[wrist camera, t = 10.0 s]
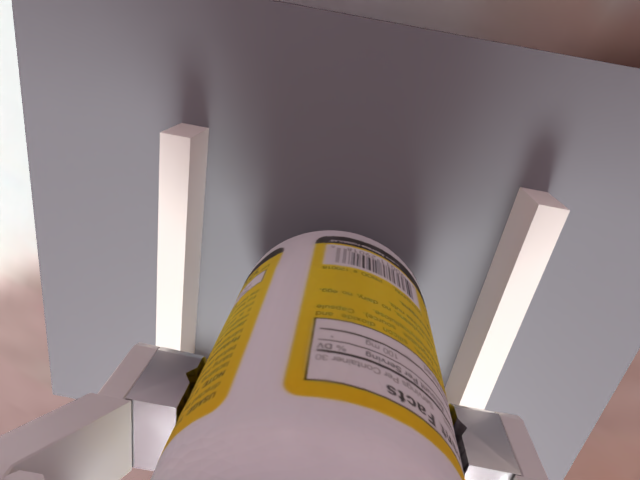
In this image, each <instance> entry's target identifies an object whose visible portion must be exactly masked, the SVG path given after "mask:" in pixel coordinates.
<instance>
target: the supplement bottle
mask: <svg viewBox="0 0 640 480" xmlns="http://www.w3.org/2000/svg"><path fill="white" fill-rule="evenodd" d="M151 480H465V475H464V471H463V467H462V463H461V458H460V454H459V449H458V445H457V441H456V437H455V432H454V428H453V423H452V418H451V414H450V409H449V405H448V401H447V397H446V392H445V388H444V383H443V379H442V374H441V370H440V366H439V362H438V357H437V353H436V349H435V344H434V340H433V335H432V331H431V327H430V322H429V318H428V314H427V309H426V306H425V302H424V299H423V296H422V293H421V291H420V288H419V285H418V283H417V281H416V279H415V277H414V276H413V274H412V272H411V271H410V269H409V268H408V267H407V266H406V264H405V263H404V262H403V261H402V260H401V259H400V258H399V257H398V256H397V255H396V254H394V253H393V252H392V251H391V250H390V249H388V248H387V247H385V246H383V245H382V244H380V243H378V242H376V241H374V240H372V239H370V238H367V237H365V236H362V235H359V234H355V233H351V232H345V231H335V230H325V231H314V232H309V233H304V234H301V235H298V236H295V237H292V238H290V239H287V240H285V241H283V242H282V243H280V244H278V245H277V246H275V247H274V248H272V249H271V250H270V251H269V252H267V253H266V254H265V255H264V256H263V257H262V258H261V259H260V260H259V262H258V263H257V264H256V265H255V267H254V268H253V269H252V271H251V273H250V274H249V276H248V278H247V279H246V281H245V283H244V285H243V287H242V289H241V291H240V293H239V295H238V297H237V300H236V302H235V304H234V306H233V308H232V310H231V312H230V314H229V316H228V318H227V320H226V322H225V324H224V326H223V328H222V330H221V332H220V334H219V337H218V339H217V341H216V343H215V345H214V347H213V349H212V351H211V353H210V355H209V357H208V359H207V361H206V363H205V365H204V367H203V369H202V371H201V373H200V375H199V377H198V379H197V381H196V384H195V386H194V388H193V390H192V392H191V394H190V396H189V398H188V400H187V402H186V404H185V406H184V408H183V410H182V412H181V414H180V416H179V418H178V421H177V423H176V425H175V427H174V429H173V431H172V433H171V435H170V437H169V439H168V441H167V443H166V445H165V447H164V449H163V451H162V454H161V456H160V458H159V460H158V463H157V465H156V468H155V470H154V473H153V475H152V477H151Z"/></svg>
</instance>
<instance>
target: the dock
mask: <svg viewBox="0 0 640 480" xmlns="http://www.w3.org/2000/svg"><path fill="white" fill-rule="evenodd" d="M12 9H13V18H14V28H15V37H16V47H17V56H18V66H19V75H20V85H21V95H22V104H23V114H24V123H25V133H26V142H27V152H28V161H29V171H30V180H31V190H32V200H33V209H34V219H35V228H36V238H37V247H38V257H39V266H40V276H41V285H42V295H43V305H44V314H45V324H46V333H47V343H48V352H49V362H50V371H51V381H52V390H53V394H54V395H59V396H64V397H69V398H74V399H78V398H80V397H82V396H84V395H86V394H88V393H95V394H97V393H98V392H99V391H100V389H101V388H102V387H103V386H104V384H105V383H106V382H107V380H108V379H109V378H110V376H111V375H112V374H113V372H114V371H115V370H116V368H117V367H118V366H119V364H120V363H121V362H122V360H123V359H124V358H125V356H126V355H127V354H128V352H129V351H130V350H131V348H132V347H133V346H134V345H136V344H137V343H139V342H140V343H145V344H149V345H154V346H158V347H165V348H170V349H174V350H179V351H184V352H188V353H193V354H197V355H202V356H205V358H206V361H207V359H208V357H209V355H210V353H211V351H212V349H213V347H214V345H215V343H216V341H217V339H218V337H219V334H220V332H221V330H222V328H223V326H224V324H225V322H226V320H227V318H228V316H229V314H230V312H231V310H232V308H233V306H234V304H235V302H236V300H237V297H238V295H239V293H240V291H241V289H242V287H243V285H244V283H245V281H246V279H247V278H248V276H249V274H250V273H251V271H252V269H253V268H254V267H255V265H256V264H257V263H258V262H259V260H260V259H261V258H262V257H263V256H264V255H265V254H266V253H267V252H269V251H270V250H271V249H272V248H274V247H275V246H277V245H278V244H280V243H282V242H283V241H285V240H287V239H290V238H292V237H295V236H298V235H301V234H304V233H309V232H314V231H325V230H335V231H345V232H351V233H355V234H359V235H362V236H365V237H367V238H370V239H372V240H374V241H376V242H378V243H380V244H382V245H383V246H385V247H387V248H388V249H390V250H391V251H392V252H393V253H394V254H396V255H397V256H398V257H399V258H400V259H401V260H402V261H403V262H404V263H405V264H406V266H407V267H408V268H409V269H410V271H411V272H412V274H413V276H414V277H415V279H416V281H417V283H418V285H419V288H420V291H421V293H422V296H423V299H424V302H425V306H426V309H427V314H428V318H429V322H430V327H431V331H432V335H433V340H434V344H435V349H436V353H437V357H438V362H439V366H440V370H441V374H442V379H443V383H444V388H445V392H446V397H447V401H448V405H449V404H455V405H461V406H466V407H472V408H477V409H482V410H488V411H493V412H501V413H507V414H512V415H518V416H519V417H520V418H521V419H522V420H523V422H524V424H525V427H526V429H527V431H528V433H529V436H530V438H531V440H532V443H533V445H534V447H535V450H536V452H537V454H538V456H539V459H540V461H541V463H542V466H543V468H544V470H545V473H546V475H547V477H548V479H549V480H563V479H564V477H565V476H566V474H567V472H568V471H569V469H570V467H571V465H572V464H573V462H574V460H575V459H576V457H577V455H578V453H579V452H580V450H581V448H582V446H583V445H584V443H585V441H586V440H587V438H588V436H589V434H590V433H591V431H592V429H593V428H594V426H595V424H596V422H597V421H598V419H599V417H600V415H601V414H602V412H603V410H604V409H605V407H606V405H607V403H608V402H609V400H610V398H611V397H612V395H613V393H614V391H615V390H616V388H617V386H618V385H619V383H620V381H621V379H622V378H623V376H624V374H625V372H626V371H627V369H628V367H629V366H630V364H631V362H632V360H633V359H634V357H635V355H636V354H637V352H638V350H639V348H640V69H639V68H634V67H628V66H623V65H618V64H612V63H607V62H602V61H596V60H591V59H585V58H580V57H575V56H569V55H564V54H559V53H553V52H548V51H543V50H537V49H532V48H526V47H521V46H516V45H510V44H505V43H500V42H494V41H489V40H484V39H478V38H473V37H467V36H462V35H457V34H451V33H446V32H441V31H435V30H430V29H425V28H419V27H414V26H408V25H403V24H398V23H392V22H387V21H382V20H376V19H371V18H366V17H360V16H355V15H349V14H344V13H339V12H333V11H328V10H323V9H317V8H312V7H307V6H301V5H296V4H290V3H285V2H280V1H274V0H12Z"/></svg>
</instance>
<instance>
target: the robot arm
mask: <svg viewBox="0 0 640 480" xmlns="http://www.w3.org/2000/svg"><path fill="white" fill-rule="evenodd" d="M205 363H206V358H205V356H202V355H197V354H193V353H188V352H184V351H179V350H174V349H170V348H165V347H158V346H154V345H149V344H145V343H140V342H139V343H137V344H136V345H134V346H133V347H132V348H131V350H130V351H129V352H128V354H127V355H126V356H125V358H124V359H123V360H122V362H121V363H120V364H119V366H118V367H117V368H116V370H115V371H114V372H113V374H112V375H111V376H110V378H109V379H108V380H107V382H106V383H105V384H104V386H103V387H102V388H101V389H100V391H99V392H98V393H97V394H95V393H88V394H86V395H84V396H82V397H80V398H78V399H76V400H74V401H72V402H70V403H68V404H66V405H64V406H61V407H59V408H57V409H55V410H53V411H51V412H49V413H47V414H45V415H43V416H41V417H39V418H37V419H34V420H32V421H30V422H28V423H26V424H24V425H22V426H20V427H18V428H16V429H14V430H12V431H10V432H7V433H5V434H3V435H1V436H0V480H120V479H121V478H123V477H124V476H125V475H126V474H128V473H129V472H130V471H131V470H132V467H133V468H139V469H145V470H151V471H154V470H155V468H156V465H157V463H158V460H159V458H160V456H161V454H162V451H163V449H164V447H165V445H166V443H167V441H168V439H169V437H170V435H171V433H172V431H173V429H174V427H175V425H176V423H177V421H178V418H179V416H180V414H181V412H182V410H183V408H184V406H185V404H186V402H187V400H188V398H189V396H190V394H191V392H192V390H193V388H194V386H195V384H196V381H197V379H198V377H199V375H200V373H201V371H202V369H203V367H204V365H205ZM449 409H450V414H451V418H452V423H453V428H454V432H455V437H456V441H457V445H458V449H459V454H460V458H461V463H462V467H463V471H464V475H465V480H549V479H548V477H547V475H546V473H545V470H544V468H543V466H542V463H541V461H540V459H539V456H538V454H537V452H536V450H535V447H534V445H533V443H532V440H531V438H530V436H529V433H528V431H527V429H526V427H525V424H524V422H523V420H522V419H521V418H520V417H519V416H518V415H512V414H507V413H501V412H493V411H488V410H482V409H477V408H472V407H466V406H461V405H455V404H449Z"/></svg>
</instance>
